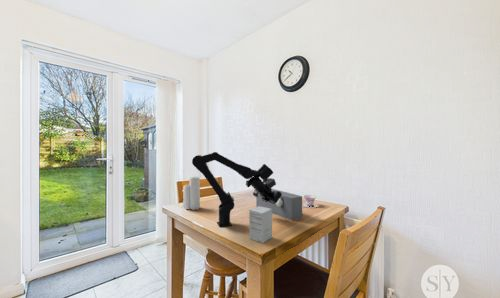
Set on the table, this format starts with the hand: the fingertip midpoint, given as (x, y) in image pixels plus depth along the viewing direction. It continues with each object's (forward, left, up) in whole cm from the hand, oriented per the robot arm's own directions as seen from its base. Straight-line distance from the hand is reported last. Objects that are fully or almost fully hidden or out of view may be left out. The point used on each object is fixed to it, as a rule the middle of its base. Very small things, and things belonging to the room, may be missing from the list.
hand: (274, 203), depth 119 cm
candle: (+37, +41, -8) cm, 56 cm away
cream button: (+1, -3, -2) cm, 4 cm away
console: (+9, -7, -8) cm, 13 cm away
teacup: (+12, -34, -8) cm, 37 cm away
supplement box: (-21, +19, -8) cm, 29 cm away
